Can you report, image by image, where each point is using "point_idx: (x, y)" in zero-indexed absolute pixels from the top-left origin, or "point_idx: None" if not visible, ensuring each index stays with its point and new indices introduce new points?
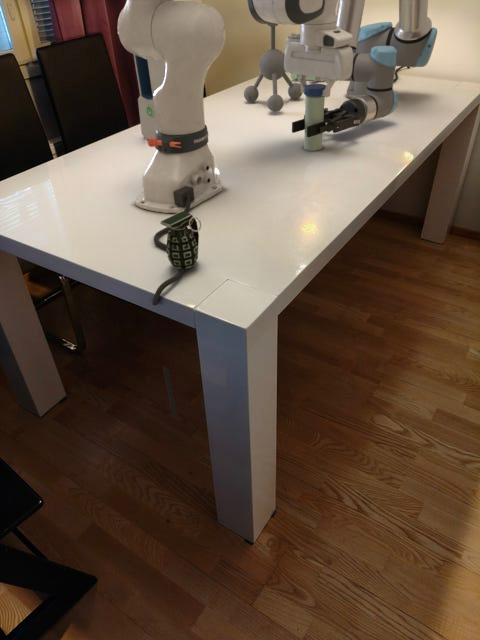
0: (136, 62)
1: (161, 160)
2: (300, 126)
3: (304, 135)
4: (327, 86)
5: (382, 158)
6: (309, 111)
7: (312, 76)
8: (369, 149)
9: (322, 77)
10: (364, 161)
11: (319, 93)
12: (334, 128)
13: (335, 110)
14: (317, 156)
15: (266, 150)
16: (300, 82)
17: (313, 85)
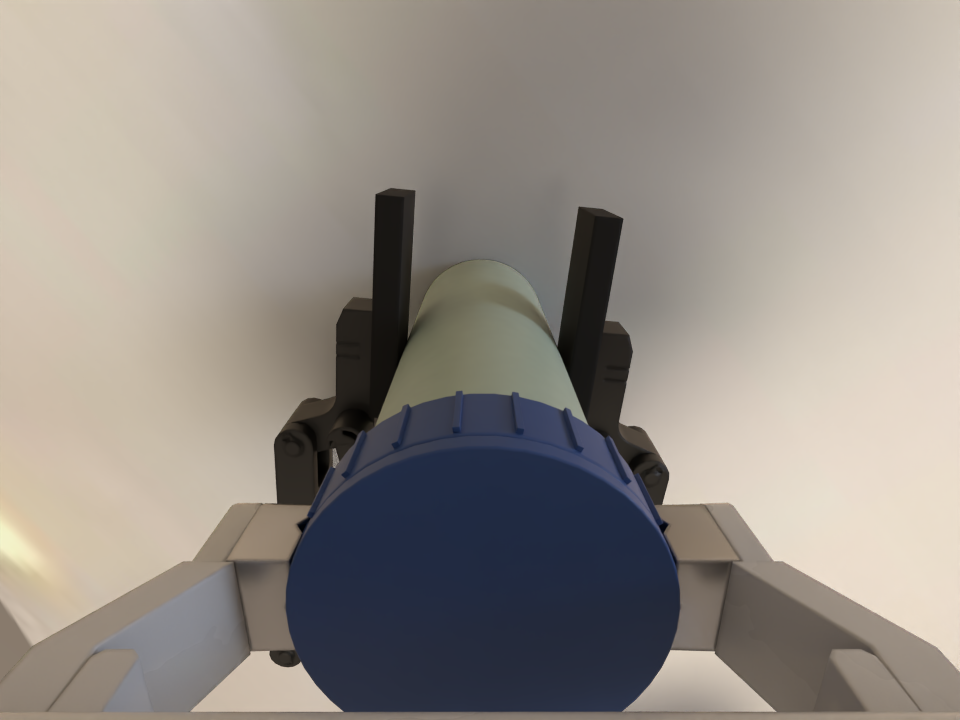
0: None
1: None
2: (572, 297)
3: (532, 299)
4: (127, 602)
5: (40, 420)
6: (469, 340)
7: (481, 713)
8: (202, 492)
9: (114, 716)
10: (67, 319)
11: (319, 490)
12: (297, 412)
13: None
14: (344, 205)
15: (732, 60)
16: (813, 600)
17: (552, 642)
